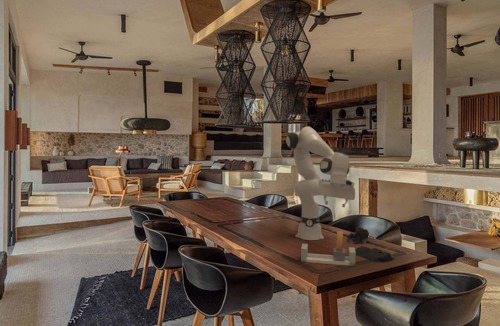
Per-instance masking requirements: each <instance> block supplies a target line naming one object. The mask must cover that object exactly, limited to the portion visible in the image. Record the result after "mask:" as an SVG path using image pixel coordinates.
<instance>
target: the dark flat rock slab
mask: <svg viewBox="0 0 500 326" xmlns="http://www.w3.org/2000/svg"><path fill="white" fill-rule="evenodd" d="M355 252H356V256H357V257H360V258H362V259H364V258H365V259H364V260H368V261H370V262H372V261H373V263H377V264H378V263H379V264H380V263H385V262H386V261H387V262H391V261H393V260H395V257H394V256H392V255H391V252H387V251H383V250H382V249H378V248H376V247H374V248H370V247H367V246H363V245H361V246H359V247H357V248H355ZM392 259H393V260H392ZM390 260H391V261H390ZM387 262H386V263H387Z"/></svg>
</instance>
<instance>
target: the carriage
mask: <svg viewBox="0 0 500 326" xmlns="http://www.w3.org/2000/svg"><path fill="white" fill-rule="evenodd" d="M343 242H344V232H343V231H341V230H337V231H336V247H333V254H332V255H334V258H345V256H346V248H344V247H343V245H344V244H343Z"/></svg>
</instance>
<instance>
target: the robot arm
mask: <svg viewBox="0 0 500 326" xmlns="http://www.w3.org/2000/svg"><path fill="white" fill-rule="evenodd" d="M285 143H286V145H287V148H288V149H292V150H293V157H294V162H295V166H296V170H297V173H298V175H299V176H301V177H303V179H301V180H299V181H296V182H295V183H294V186H293V191H294V194H295V195H296V196H297V197H298V198H299V200H300V204H301V216H300V223H299V224H298V230H297V231H298V232H297V233H296V234H295V236H294V237H295V238H299V239H301V240H304V241H305V240H306V241H319V240H324V239H325V237H324V235H323V234H322V226H321V224H320V217H319V213H320V212H319V211H320V210H319V208H320V206H319V204H318V203H317V202H316V201H315V199H314V197H315V196H317V197H318V196H322V197H323V199H324V201H325V202H324V205H329V203H328V202H329V201H327V197H330V198H336V199H337V198H338V199H343V200H344V201H345V202H344V203H342V205H341V207H342V208H346V204H347V203H348V202H349V201H350V200H351V201H355V199H356V188H355V187H354V186H355V182H354V181H351V180H350V179H348V174H349V173H350V158H349V157H350V156H349V155H348V154H347V153H344V152H339V151H336V152H335V151H334V150H333V149H332V148H331V147H330V146H329V144H327V143H326V142H325V140H324V139H322V137H321V136H320V134H319V133H318V131H316V129H314V128H312V127H311V126H304V127H302V128H301V129H300V131H296V132H290V133H288V134H287V135H286V137H285ZM310 152H311V153H312V154H315V155H317V156H321V157H324V158H323V159H322V160H320V162H319V170H320V172H321V173H322V174H325V175H329V176H330V179H324V178H321V177H320V175H319V174H318V173H317V171H316V168H315V166H314V164H313V160H312V157H311V154H310Z"/></svg>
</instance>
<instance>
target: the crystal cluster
mask: <svg viewBox="0 0 500 326" xmlns="http://www.w3.org/2000/svg"><path fill="white" fill-rule="evenodd" d="M369 236H370V232H369V231H368V229H366V228H365V229H364V228H363V227H358V228H357V229H356V230H354V232H350V233H349V235H348V236H347V239H346V240H347V242H348V243H350V244H356V245H357V244H358V245H359V244H360V245H361V244H364V245H365V244H367V242H368V240H369Z"/></svg>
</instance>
